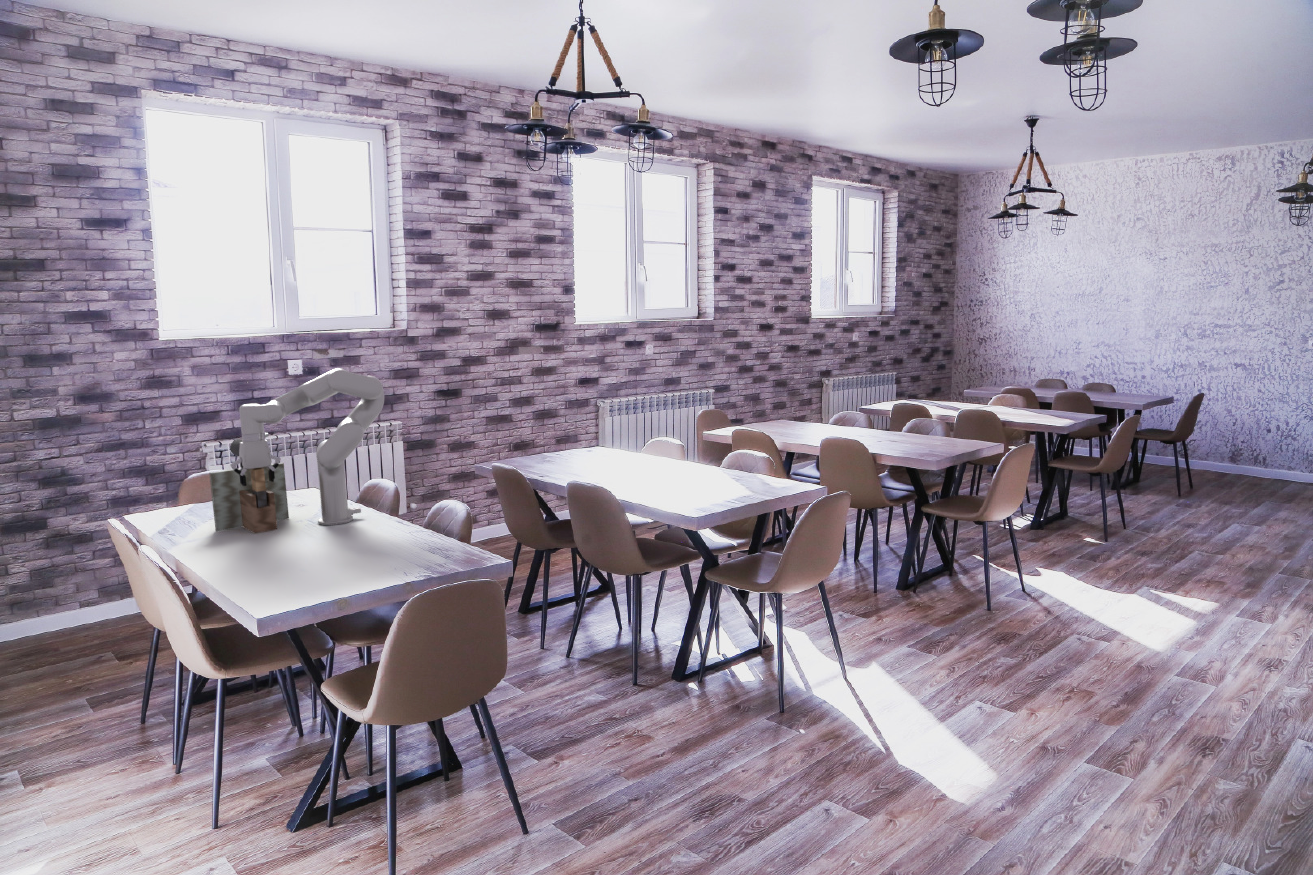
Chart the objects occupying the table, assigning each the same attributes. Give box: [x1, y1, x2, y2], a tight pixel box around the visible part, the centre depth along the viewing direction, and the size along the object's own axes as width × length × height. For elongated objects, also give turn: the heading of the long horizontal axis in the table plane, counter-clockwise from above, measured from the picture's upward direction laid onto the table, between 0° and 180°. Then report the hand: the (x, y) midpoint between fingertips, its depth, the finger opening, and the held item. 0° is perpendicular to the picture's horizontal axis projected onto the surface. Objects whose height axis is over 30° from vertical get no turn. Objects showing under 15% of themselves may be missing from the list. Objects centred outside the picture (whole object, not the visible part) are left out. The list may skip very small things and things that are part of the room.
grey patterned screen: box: [209, 462, 290, 534], centre depth 318 cm, size 26×16×22 cm, turn 132°
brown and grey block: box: [250, 468, 267, 508], centre depth 314 cm, size 3×5×14 cm, turn 43°
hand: (258, 483), depth 314 cm, fingers open, 9 cm apart
